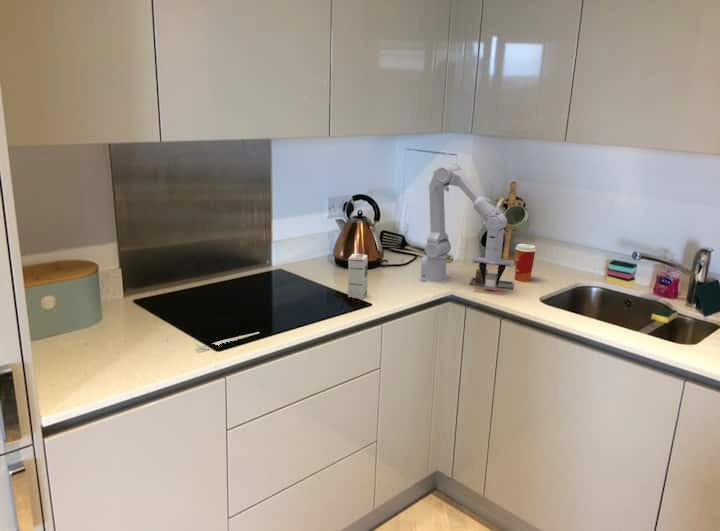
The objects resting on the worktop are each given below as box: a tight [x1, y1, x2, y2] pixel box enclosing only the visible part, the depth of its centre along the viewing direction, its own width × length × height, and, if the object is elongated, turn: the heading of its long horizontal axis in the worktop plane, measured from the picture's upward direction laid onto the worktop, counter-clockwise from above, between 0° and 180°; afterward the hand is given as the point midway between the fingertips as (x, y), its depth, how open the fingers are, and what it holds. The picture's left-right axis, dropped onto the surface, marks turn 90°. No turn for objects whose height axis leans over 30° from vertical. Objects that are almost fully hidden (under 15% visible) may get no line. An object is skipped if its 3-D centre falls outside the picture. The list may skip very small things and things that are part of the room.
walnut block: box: [474, 268, 489, 284], centre depth 224 cm, size 4×4×5 cm
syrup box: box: [347, 253, 369, 300], centre depth 206 cm, size 6×6×14 cm
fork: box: [195, 331, 260, 351], centre depth 167 cm, size 3×20×2 cm, turn 134°
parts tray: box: [469, 276, 514, 291], centre depth 223 cm, size 16×8×1 cm, turn 74°
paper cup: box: [514, 243, 537, 283], centre depth 228 cm, size 8×8×14 cm
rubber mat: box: [473, 286, 507, 297], centre depth 216 cm, size 11×7×1 cm, turn 74°
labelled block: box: [484, 272, 498, 290], centre depth 215 cm, size 4×4×5 cm
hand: (490, 283), depth 215 cm, fingers closed on labelled block, 4 cm apart
